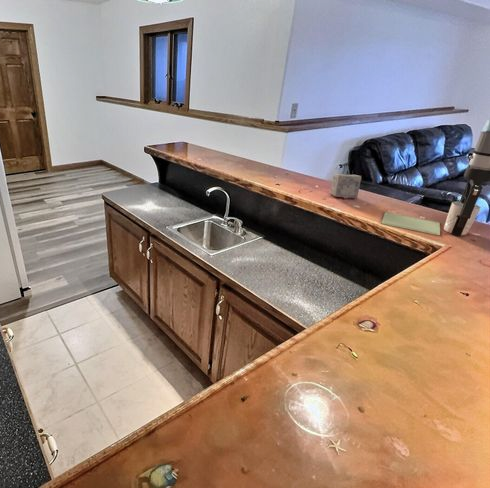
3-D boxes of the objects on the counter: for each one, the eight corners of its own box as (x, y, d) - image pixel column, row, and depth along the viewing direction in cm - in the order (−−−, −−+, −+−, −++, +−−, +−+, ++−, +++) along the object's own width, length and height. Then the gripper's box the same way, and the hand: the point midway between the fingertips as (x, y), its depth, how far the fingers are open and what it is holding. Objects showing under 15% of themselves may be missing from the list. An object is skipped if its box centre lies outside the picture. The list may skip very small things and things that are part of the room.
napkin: (439, 223, 132) (439, 222, 132) (439, 235, 121) (440, 235, 121) (385, 212, 141) (385, 211, 141) (381, 223, 130) (381, 222, 130)
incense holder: (350, 194, 161) (356, 172, 156) (356, 200, 154) (363, 177, 149) (328, 193, 162) (333, 171, 158) (333, 199, 155) (339, 176, 150)
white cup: (447, 234, 122) (458, 207, 118) (437, 226, 129) (447, 200, 125) (473, 237, 121) (485, 210, 116) (462, 228, 128) (473, 202, 123)
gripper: (465, 160, 124) (441, 219, 134) (470, 172, 109) (442, 238, 119) (492, 163, 120) (466, 224, 131) (501, 176, 105) (470, 243, 115)
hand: (455, 230), depth 125 cm, fingers closed on white cup, 8 cm apart
